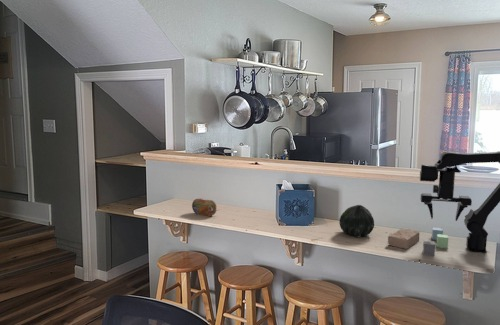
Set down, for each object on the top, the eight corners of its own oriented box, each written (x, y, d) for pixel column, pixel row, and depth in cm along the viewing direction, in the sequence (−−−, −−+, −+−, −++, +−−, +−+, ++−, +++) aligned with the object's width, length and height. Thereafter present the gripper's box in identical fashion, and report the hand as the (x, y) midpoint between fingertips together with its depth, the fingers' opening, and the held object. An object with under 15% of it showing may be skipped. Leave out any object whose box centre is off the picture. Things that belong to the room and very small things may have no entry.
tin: (191, 213, 233) (191, 197, 231) (195, 212, 235) (195, 196, 234) (213, 217, 224) (213, 201, 223) (217, 216, 227) (217, 200, 225)
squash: (348, 215, 209) (342, 196, 198) (379, 221, 201) (375, 202, 191) (339, 240, 201) (332, 222, 191) (371, 247, 194) (366, 228, 183)
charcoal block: (433, 252, 175) (434, 241, 174) (434, 255, 171) (435, 244, 170) (422, 251, 176) (423, 240, 175) (423, 254, 172) (424, 243, 172)
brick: (401, 236, 196) (401, 226, 195) (420, 240, 190) (420, 229, 190) (386, 246, 183) (387, 235, 182) (407, 250, 178) (407, 239, 177)
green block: (446, 245, 183) (447, 235, 183) (447, 248, 180) (448, 237, 179) (436, 244, 185) (436, 234, 184) (437, 247, 181) (437, 236, 180)
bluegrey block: (441, 237, 193) (442, 228, 192) (442, 240, 189) (443, 230, 189) (431, 237, 194) (432, 227, 194) (432, 239, 191) (433, 229, 190)
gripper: (468, 180, 183) (465, 216, 185) (420, 177, 188) (418, 212, 191) (473, 185, 172) (470, 223, 175) (422, 182, 178) (420, 219, 180)
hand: (443, 219), depth 180 cm, fingers open, 9 cm apart
